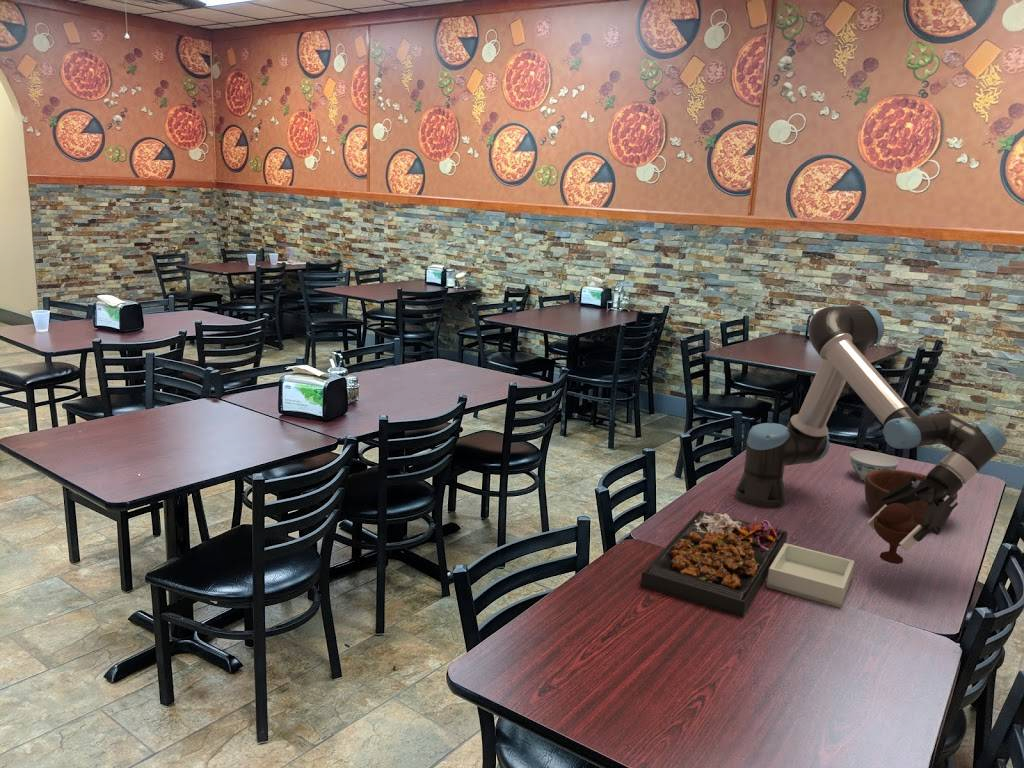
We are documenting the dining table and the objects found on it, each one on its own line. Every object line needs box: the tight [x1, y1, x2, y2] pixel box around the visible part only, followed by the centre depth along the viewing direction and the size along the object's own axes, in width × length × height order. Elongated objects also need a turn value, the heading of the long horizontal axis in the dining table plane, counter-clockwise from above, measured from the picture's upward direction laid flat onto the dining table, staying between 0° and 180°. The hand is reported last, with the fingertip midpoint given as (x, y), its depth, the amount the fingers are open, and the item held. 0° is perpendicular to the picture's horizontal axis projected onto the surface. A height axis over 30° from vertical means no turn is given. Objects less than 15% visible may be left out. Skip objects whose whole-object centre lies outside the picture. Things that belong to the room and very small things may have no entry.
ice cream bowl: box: [874, 503, 919, 565], centre depth 197 cm, size 11×11×15 cm
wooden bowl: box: [864, 469, 958, 527], centre depth 240 cm, size 25×25×10 cm
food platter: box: [640, 510, 788, 618], centre depth 204 cm, size 45×25×10 cm, turn 150°
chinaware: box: [849, 450, 900, 482], centre depth 269 cm, size 15×15×8 cm
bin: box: [766, 542, 855, 609], centre depth 197 cm, size 17×17×5 cm
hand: (886, 536), depth 196 cm, fingers closed on ice cream bowl, 11 cm apart
